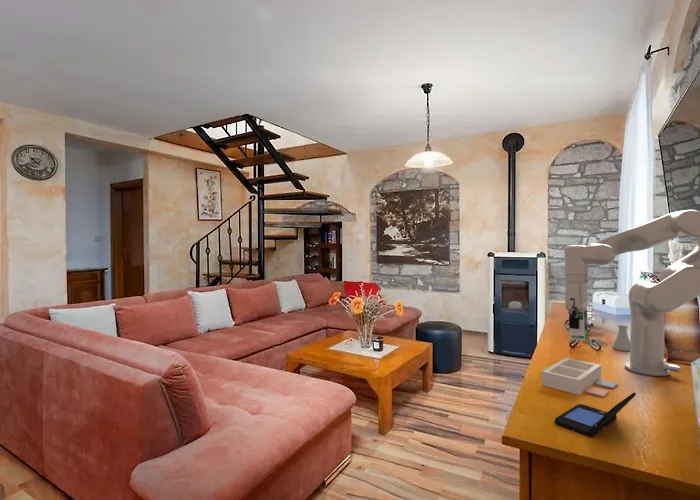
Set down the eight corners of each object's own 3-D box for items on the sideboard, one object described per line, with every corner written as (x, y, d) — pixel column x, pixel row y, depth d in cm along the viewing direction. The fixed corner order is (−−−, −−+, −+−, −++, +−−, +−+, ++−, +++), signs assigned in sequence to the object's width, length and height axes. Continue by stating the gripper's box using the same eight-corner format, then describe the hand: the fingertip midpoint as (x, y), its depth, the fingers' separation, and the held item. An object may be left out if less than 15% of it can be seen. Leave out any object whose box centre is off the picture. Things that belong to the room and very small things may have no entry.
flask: (637, 351, 160) (637, 327, 159) (619, 351, 160) (619, 327, 160) (625, 346, 167) (625, 323, 167) (608, 346, 167) (608, 323, 167)
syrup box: (569, 339, 142) (568, 300, 141) (569, 336, 147) (568, 298, 146) (588, 341, 139) (587, 301, 139) (586, 337, 144) (585, 298, 144)
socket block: (620, 382, 126) (620, 369, 126) (600, 400, 112) (600, 385, 112) (565, 370, 138) (565, 357, 138) (541, 385, 125) (541, 371, 125)
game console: (579, 408, 108) (579, 376, 108) (637, 427, 97) (637, 391, 97) (551, 424, 99) (552, 389, 99) (612, 447, 88) (613, 408, 88)
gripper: (574, 276, 151) (575, 321, 151) (556, 280, 139) (558, 329, 140) (596, 276, 145) (597, 323, 146) (579, 281, 134) (581, 332, 134)
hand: (578, 326), depth 143 cm, fingers closed on syrup box, 7 cm apart
